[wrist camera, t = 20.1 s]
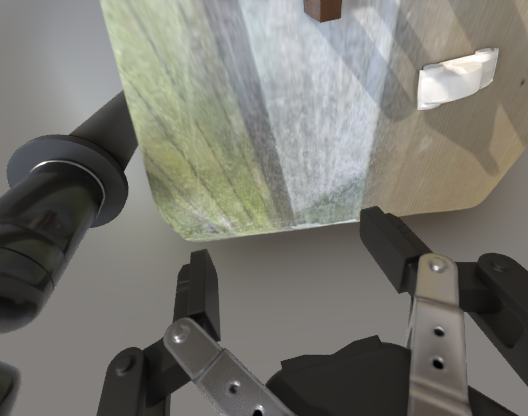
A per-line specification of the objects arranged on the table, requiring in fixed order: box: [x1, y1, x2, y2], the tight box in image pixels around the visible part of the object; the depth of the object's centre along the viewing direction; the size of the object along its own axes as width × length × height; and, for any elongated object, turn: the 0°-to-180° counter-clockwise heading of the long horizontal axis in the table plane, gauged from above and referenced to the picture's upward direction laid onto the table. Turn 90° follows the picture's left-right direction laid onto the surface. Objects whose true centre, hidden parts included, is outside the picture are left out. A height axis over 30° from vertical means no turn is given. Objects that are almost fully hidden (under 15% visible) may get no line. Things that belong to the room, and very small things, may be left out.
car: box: [417, 48, 499, 110], centre depth 40 cm, size 12×6×5 cm, turn 106°
